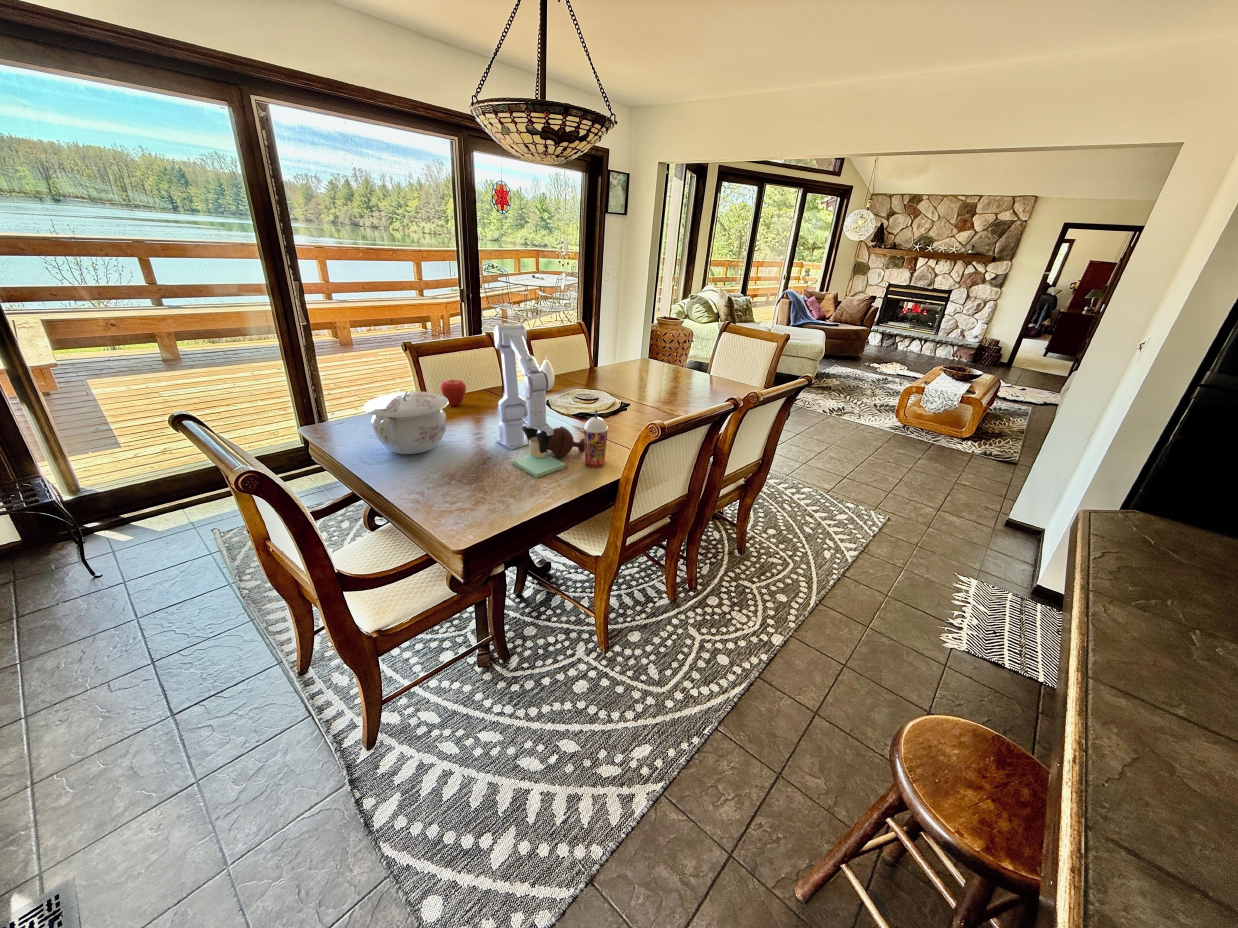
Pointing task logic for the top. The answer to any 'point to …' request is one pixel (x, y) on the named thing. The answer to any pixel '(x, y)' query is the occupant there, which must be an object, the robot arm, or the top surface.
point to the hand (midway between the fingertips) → (537, 449)
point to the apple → (453, 391)
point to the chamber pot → (408, 420)
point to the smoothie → (595, 441)
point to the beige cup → (535, 447)
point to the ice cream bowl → (564, 442)
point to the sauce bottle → (548, 373)
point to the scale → (539, 464)
